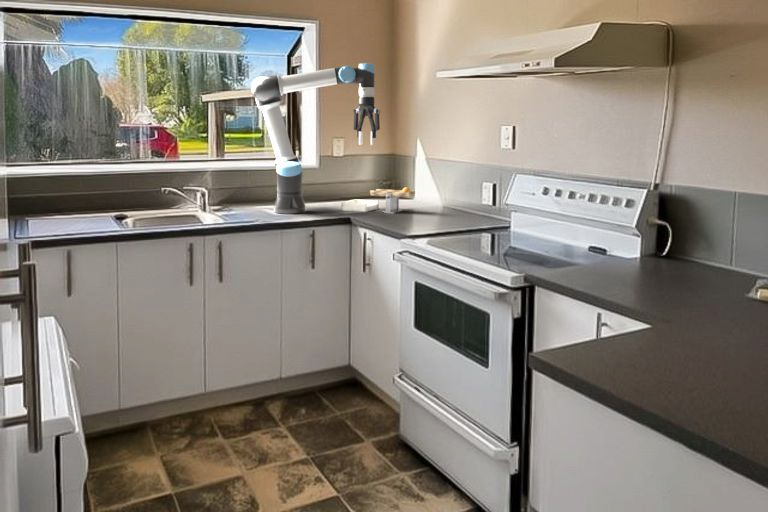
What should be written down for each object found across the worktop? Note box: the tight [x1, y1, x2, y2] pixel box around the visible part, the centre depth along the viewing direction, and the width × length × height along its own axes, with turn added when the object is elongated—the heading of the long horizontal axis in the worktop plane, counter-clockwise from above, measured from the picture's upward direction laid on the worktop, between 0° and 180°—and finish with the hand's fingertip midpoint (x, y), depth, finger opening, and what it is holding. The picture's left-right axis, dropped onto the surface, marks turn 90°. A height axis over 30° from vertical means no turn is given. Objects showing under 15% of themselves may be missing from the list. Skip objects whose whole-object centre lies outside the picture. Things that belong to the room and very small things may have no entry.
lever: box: [369, 188, 416, 199], centre depth 356 cm, size 20×14×2 cm
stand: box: [381, 193, 403, 214], centre depth 354 cm, size 6×11×9 cm, turn 156°
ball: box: [402, 186, 411, 192], centre depth 350 cm, size 4×4×4 cm
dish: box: [341, 198, 380, 213], centre depth 361 cm, size 13×14×4 cm
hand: (366, 144), depth 364 cm, fingers open, 6 cm apart
